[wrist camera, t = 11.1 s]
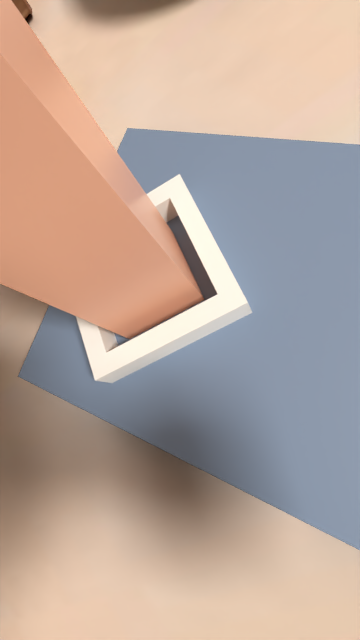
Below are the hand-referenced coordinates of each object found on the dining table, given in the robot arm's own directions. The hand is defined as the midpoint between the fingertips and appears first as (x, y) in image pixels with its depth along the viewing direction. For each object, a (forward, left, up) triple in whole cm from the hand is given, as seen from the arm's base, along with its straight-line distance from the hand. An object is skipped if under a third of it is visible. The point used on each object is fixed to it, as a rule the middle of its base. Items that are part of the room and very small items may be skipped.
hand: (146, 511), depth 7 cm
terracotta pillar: (+7, +7, -8) cm, 13 cm away
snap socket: (+7, +7, -8) cm, 13 cm away
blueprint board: (+8, +2, -9) cm, 12 cm away
